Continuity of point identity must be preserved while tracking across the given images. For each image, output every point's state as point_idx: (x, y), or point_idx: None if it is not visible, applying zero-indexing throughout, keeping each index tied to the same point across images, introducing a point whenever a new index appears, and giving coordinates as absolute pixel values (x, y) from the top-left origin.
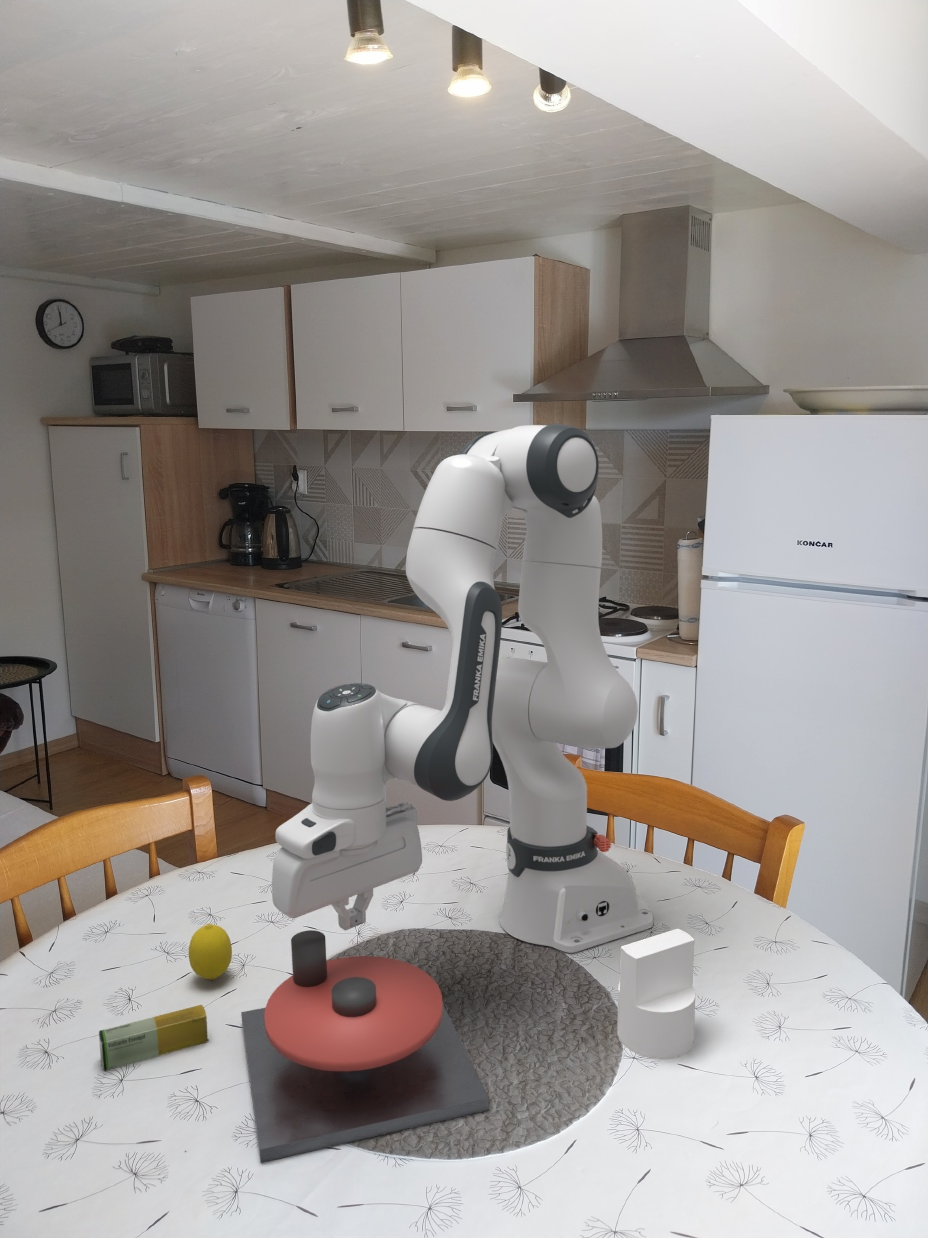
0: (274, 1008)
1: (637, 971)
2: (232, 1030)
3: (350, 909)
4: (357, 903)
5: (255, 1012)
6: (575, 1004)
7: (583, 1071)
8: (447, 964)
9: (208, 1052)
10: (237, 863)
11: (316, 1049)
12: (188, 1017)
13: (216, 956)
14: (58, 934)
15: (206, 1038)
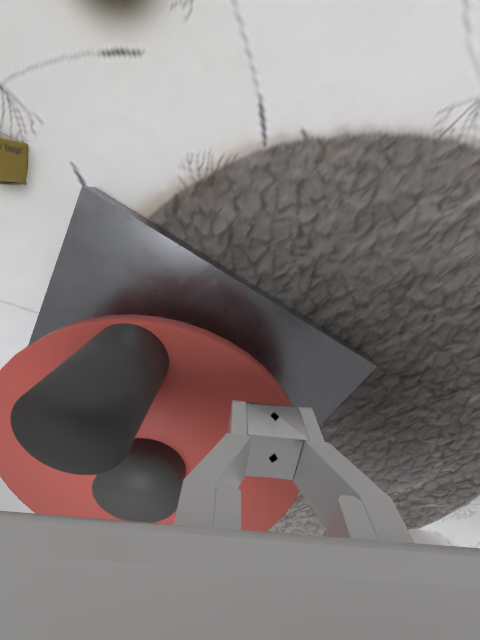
0: (15, 385)
1: None
2: (73, 191)
3: (283, 445)
4: (315, 471)
5: (104, 210)
6: (425, 492)
7: (322, 534)
8: (444, 335)
9: (17, 213)
10: None
11: (35, 495)
12: None
13: None
14: None
15: (16, 183)
